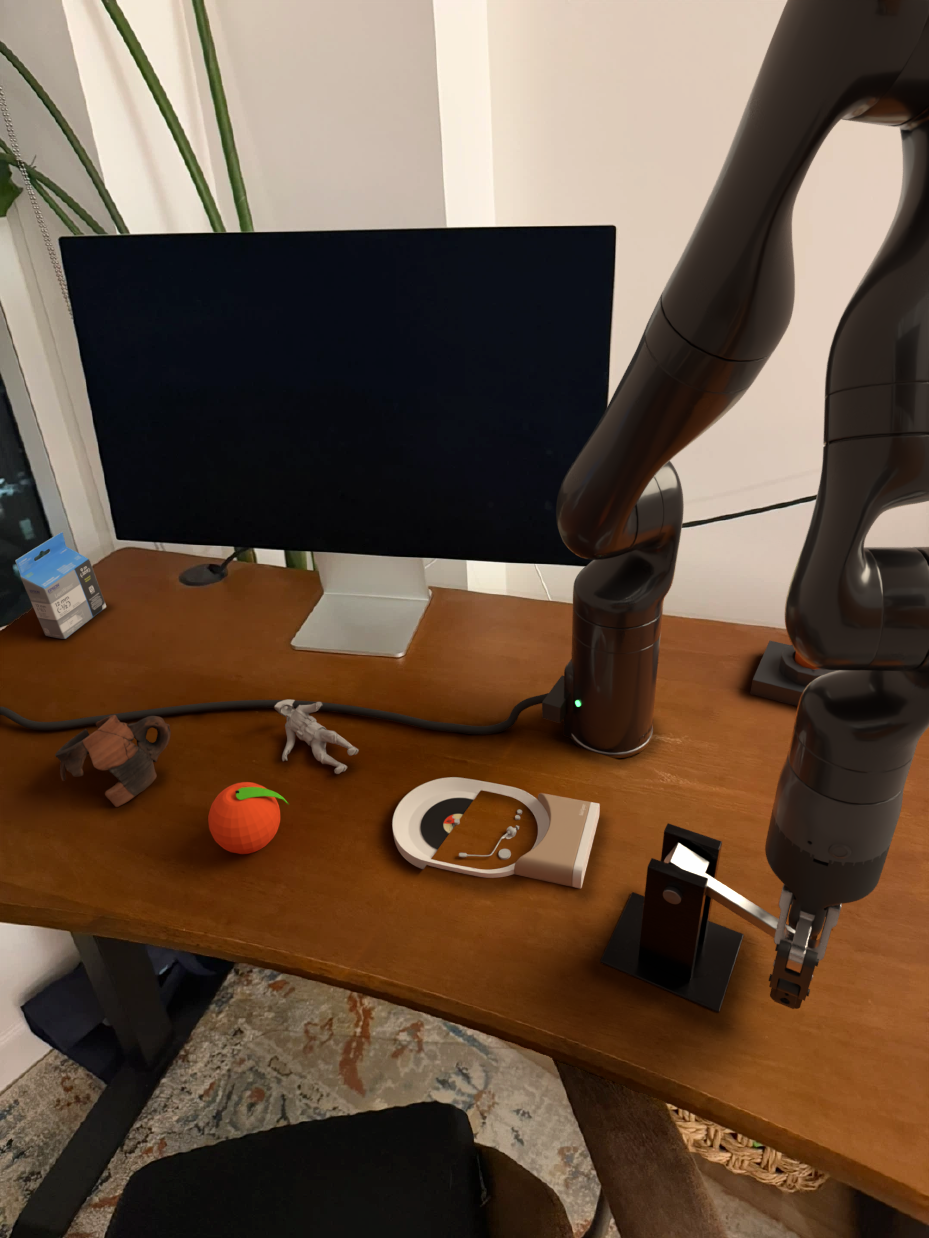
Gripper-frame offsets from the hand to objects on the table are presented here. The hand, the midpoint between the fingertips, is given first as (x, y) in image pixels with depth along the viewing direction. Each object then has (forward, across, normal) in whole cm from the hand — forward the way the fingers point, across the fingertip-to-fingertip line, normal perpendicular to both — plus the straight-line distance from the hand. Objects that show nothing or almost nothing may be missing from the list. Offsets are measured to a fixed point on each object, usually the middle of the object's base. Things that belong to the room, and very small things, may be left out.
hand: (792, 969), depth 66 cm
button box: (+4, -43, -6) cm, 44 cm away
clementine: (+4, +6, -50) cm, 51 cm away
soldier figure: (+4, -8, -53) cm, 54 cm away
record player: (+4, -5, -29) cm, 30 cm away
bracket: (+4, 0, -9) cm, 10 cm away
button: (+1, -43, -6) cm, 43 cm away
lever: (-4, 0, -5) cm, 7 cm away
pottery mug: (+4, +5, -70) cm, 71 cm away
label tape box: (+4, -15, -102) cm, 103 cm away
